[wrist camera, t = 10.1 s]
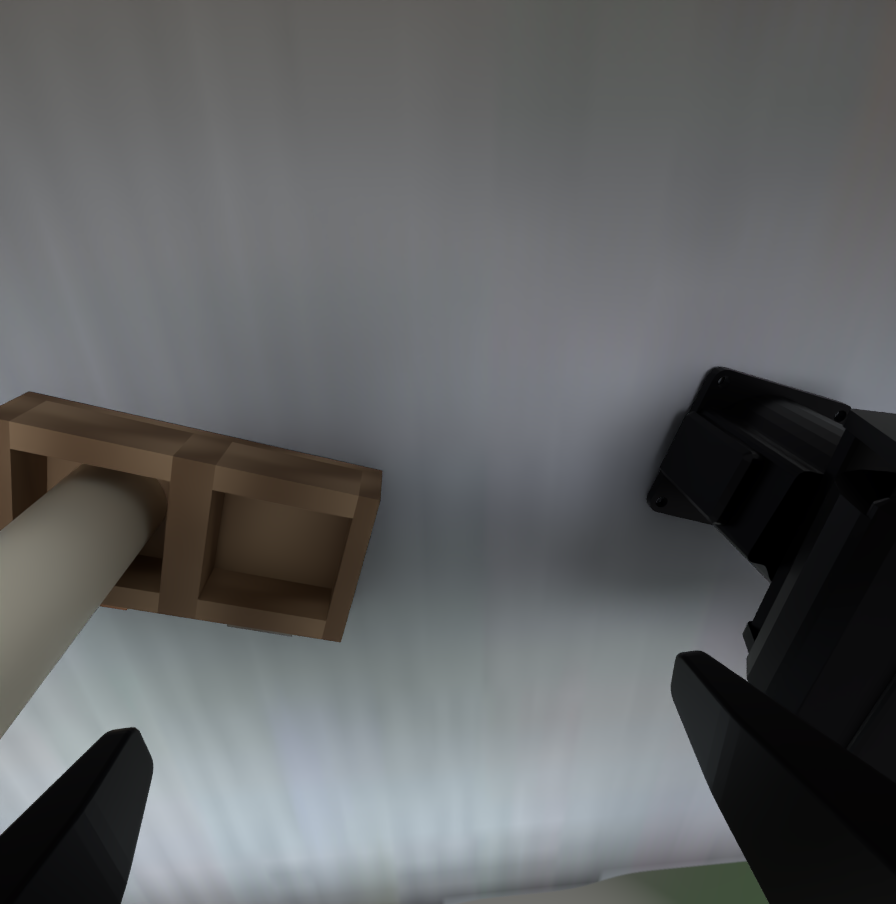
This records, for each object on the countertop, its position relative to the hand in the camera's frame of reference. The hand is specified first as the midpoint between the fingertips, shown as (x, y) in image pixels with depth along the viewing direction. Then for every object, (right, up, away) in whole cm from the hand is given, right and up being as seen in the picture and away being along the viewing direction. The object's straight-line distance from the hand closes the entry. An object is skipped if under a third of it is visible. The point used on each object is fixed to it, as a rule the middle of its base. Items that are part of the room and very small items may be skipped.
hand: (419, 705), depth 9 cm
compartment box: (-9, +2, +13) cm, 16 cm away
